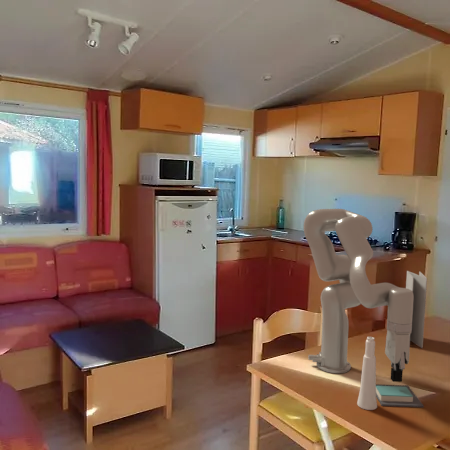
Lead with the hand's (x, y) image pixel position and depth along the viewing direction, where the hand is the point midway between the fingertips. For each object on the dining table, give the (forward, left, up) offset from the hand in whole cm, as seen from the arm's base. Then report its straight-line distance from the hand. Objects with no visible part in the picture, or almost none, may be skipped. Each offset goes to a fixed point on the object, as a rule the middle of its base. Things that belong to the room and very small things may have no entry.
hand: (396, 380), depth 152 cm
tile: (-1, +1, -4) cm, 4 cm away
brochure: (+24, +52, -5) cm, 57 cm away
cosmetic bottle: (-11, -7, -5) cm, 14 cm away
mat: (0, 0, -5) cm, 5 cm away
